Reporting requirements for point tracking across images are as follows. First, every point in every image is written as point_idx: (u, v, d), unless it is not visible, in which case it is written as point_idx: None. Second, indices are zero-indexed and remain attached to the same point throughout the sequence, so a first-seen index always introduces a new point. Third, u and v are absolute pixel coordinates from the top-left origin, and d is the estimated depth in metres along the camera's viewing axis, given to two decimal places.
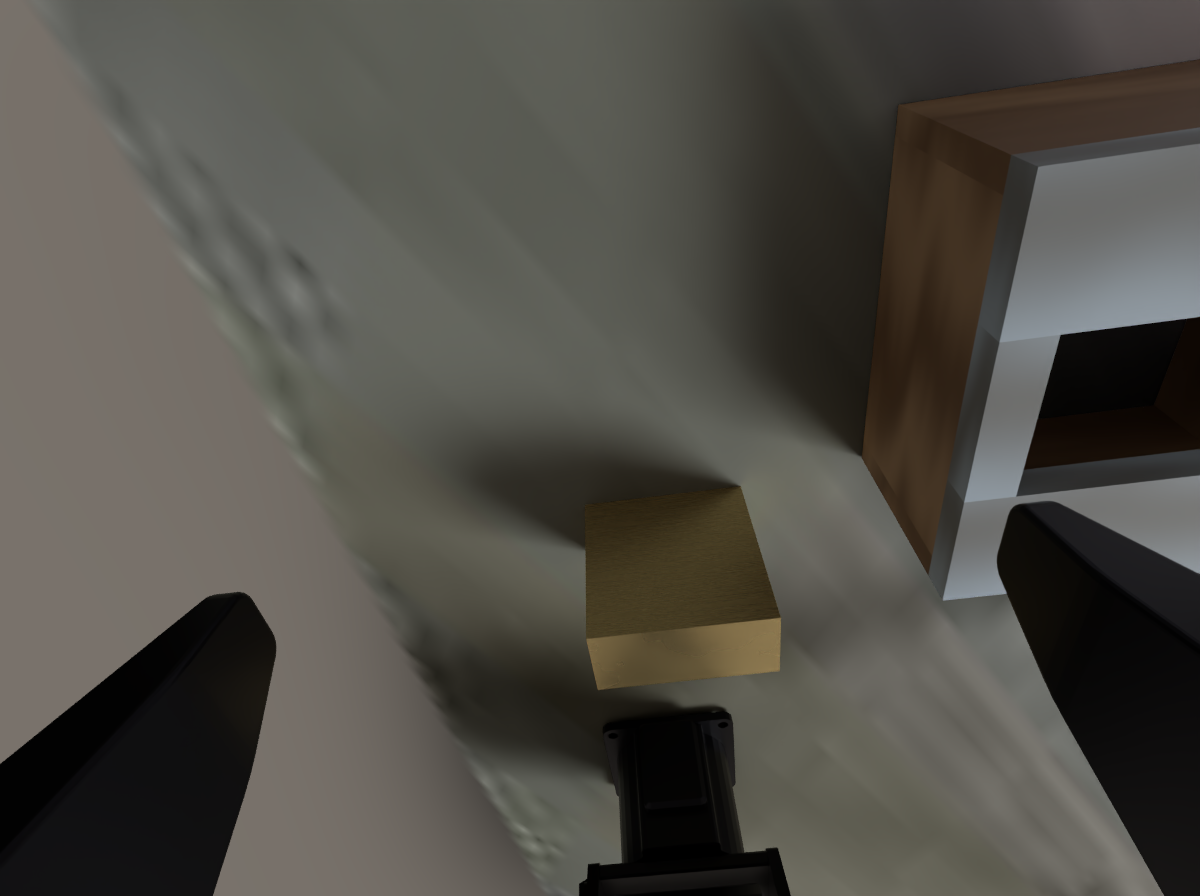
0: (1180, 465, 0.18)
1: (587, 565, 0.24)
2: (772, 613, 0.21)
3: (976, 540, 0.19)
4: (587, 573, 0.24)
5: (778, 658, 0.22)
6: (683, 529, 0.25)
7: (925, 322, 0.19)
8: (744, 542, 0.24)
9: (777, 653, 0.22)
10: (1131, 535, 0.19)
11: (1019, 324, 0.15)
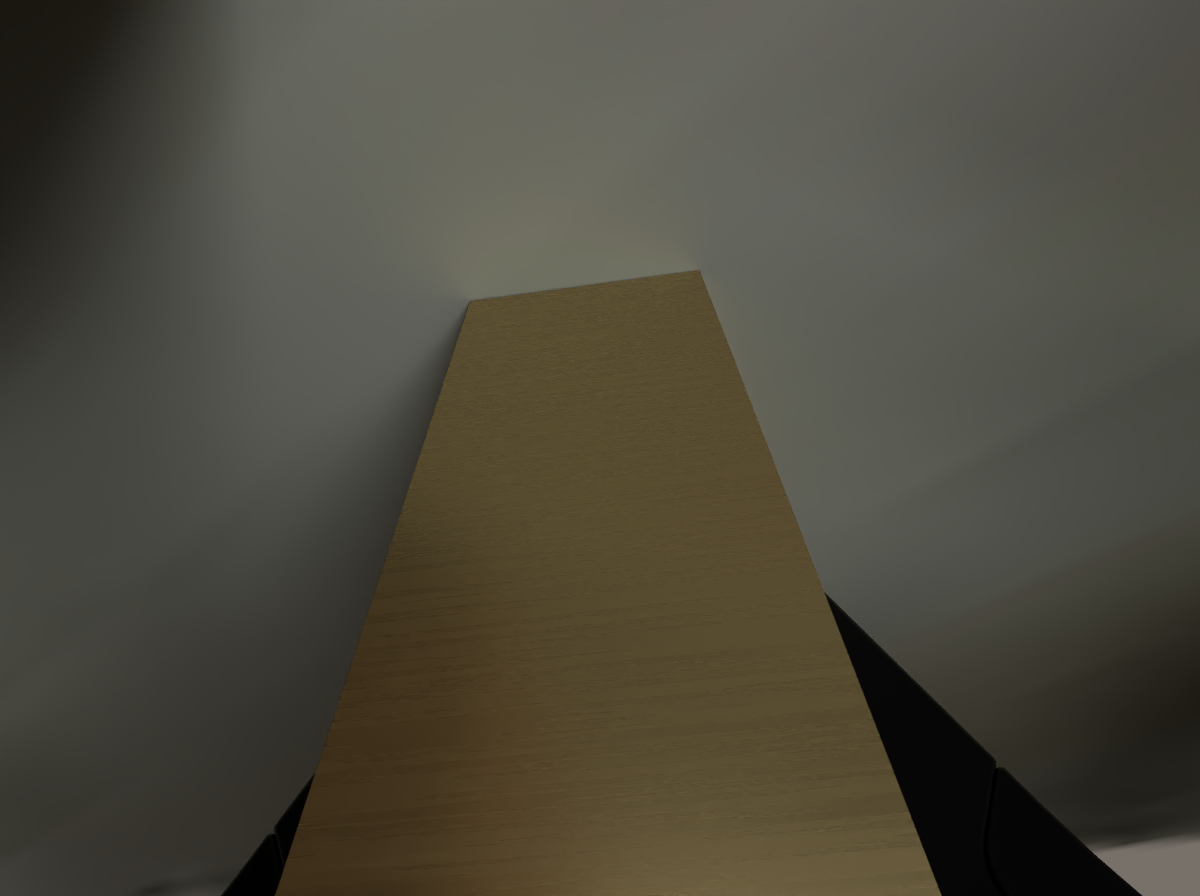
0: None
1: None
2: None
3: None
4: None
5: None
6: None
7: None
8: None
9: None
10: None
11: None
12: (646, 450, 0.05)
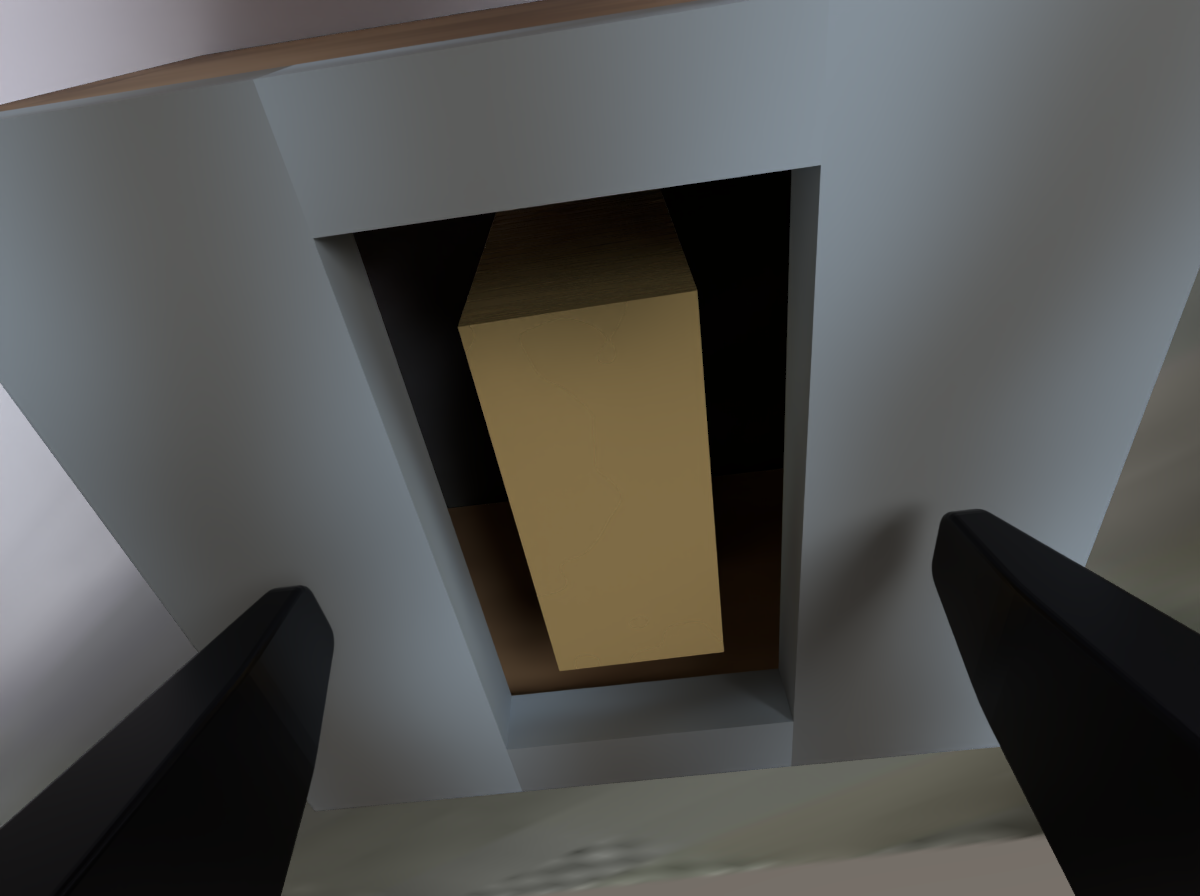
0: (794, 491, 0.09)
1: None
2: None
3: (880, 739, 0.11)
4: None
5: (636, 303, 0.07)
6: None
7: None
8: None
9: (613, 310, 0.07)
10: None
11: (496, 782, 0.12)
12: (607, 213, 0.10)
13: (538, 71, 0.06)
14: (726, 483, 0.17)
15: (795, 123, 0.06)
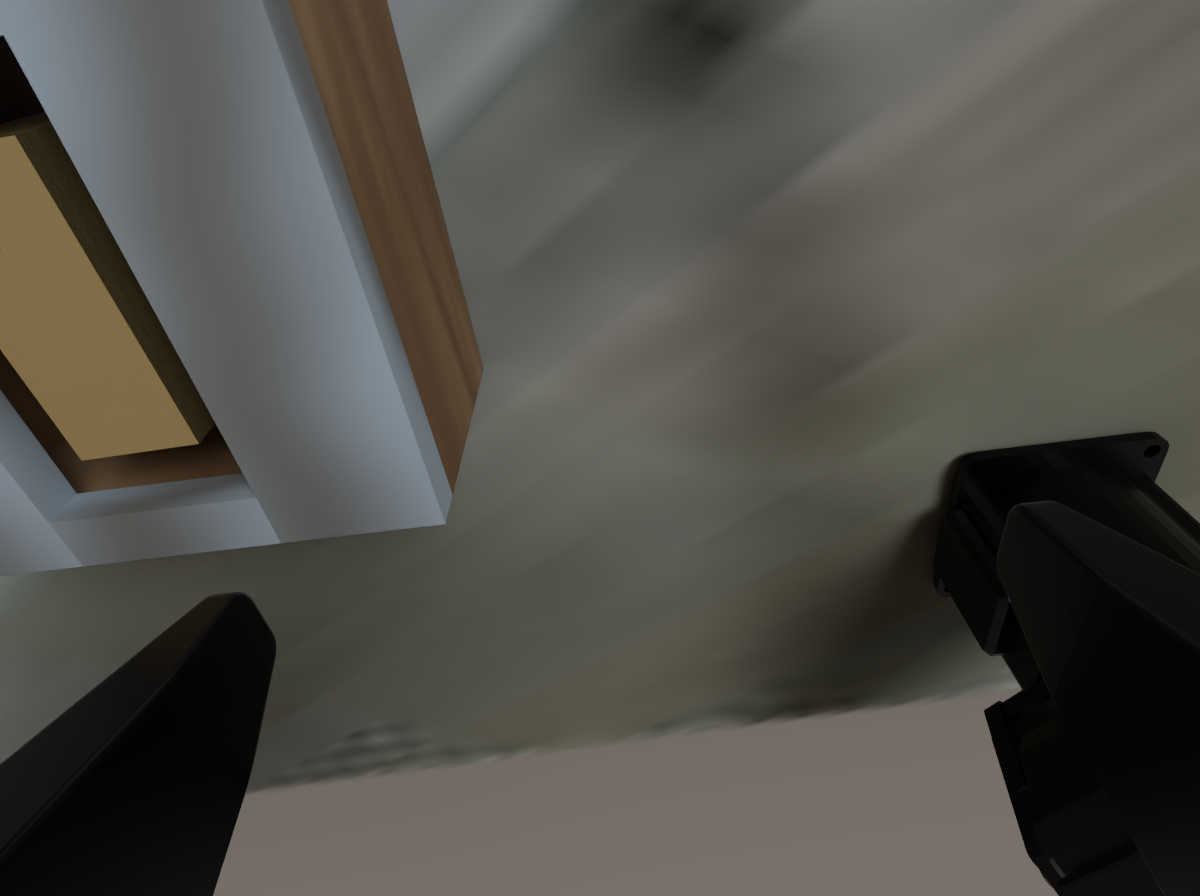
0: None
1: None
2: None
3: (335, 517, 0.15)
4: None
5: None
6: None
7: None
8: None
9: None
10: (277, 340, 0.12)
11: (57, 556, 0.15)
12: None
13: None
14: None
15: None
